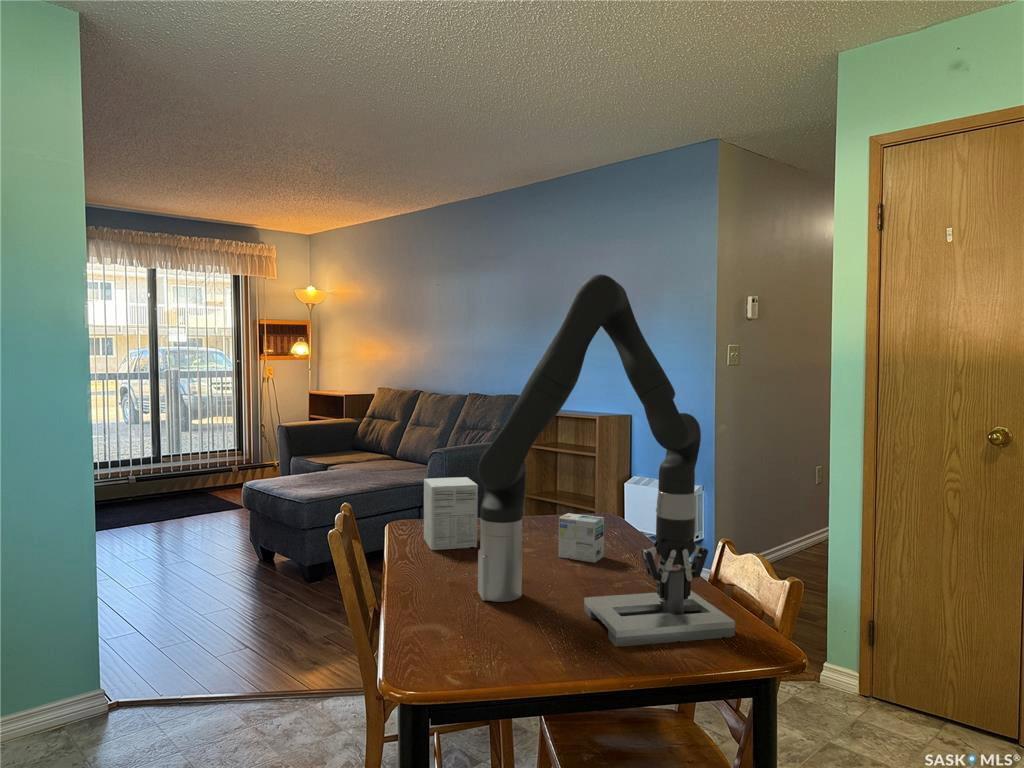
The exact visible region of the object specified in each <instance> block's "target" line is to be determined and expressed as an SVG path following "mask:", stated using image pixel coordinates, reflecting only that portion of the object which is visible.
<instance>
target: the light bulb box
mask: <svg viewBox="0 0 1024 768" xmlns="http://www.w3.org/2000/svg"><path fill="white" fill-rule="evenodd" d="M557 538H558V543H557V544H558V545H557V547H558V549H557V550H558V552H557V553H558V555H557V557H558V558H562V559H568V558H569V560H575V561H581V562H589V563H594V564H595V563H596V562H598V561H600V560H601V559H602V558H604V557H605V517H603V516H595V515H587V514H576V513H570V512H568V513H565V514H563V515H561V516H559V517H558V537H557Z"/></svg>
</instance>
